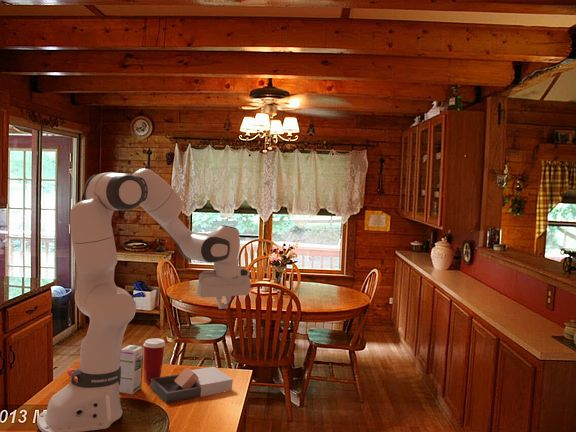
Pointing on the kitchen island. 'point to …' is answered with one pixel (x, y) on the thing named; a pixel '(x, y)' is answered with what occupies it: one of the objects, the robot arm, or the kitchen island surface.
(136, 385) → the syrup box
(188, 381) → the tile
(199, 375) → the flat white box
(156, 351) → the paper cup
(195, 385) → the tray
